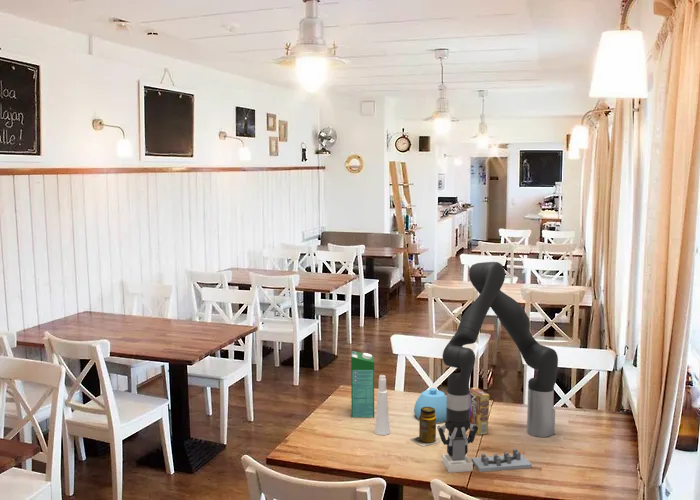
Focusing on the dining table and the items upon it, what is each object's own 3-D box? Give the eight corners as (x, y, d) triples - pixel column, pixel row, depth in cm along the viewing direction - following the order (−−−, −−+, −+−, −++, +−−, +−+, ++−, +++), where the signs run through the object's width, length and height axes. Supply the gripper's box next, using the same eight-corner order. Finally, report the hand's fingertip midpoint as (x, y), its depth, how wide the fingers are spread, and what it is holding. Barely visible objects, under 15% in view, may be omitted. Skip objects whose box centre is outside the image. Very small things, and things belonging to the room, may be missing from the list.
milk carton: (374, 417, 266) (374, 356, 263) (351, 417, 267) (351, 356, 263) (373, 409, 275) (373, 350, 272) (351, 409, 276) (351, 350, 272)
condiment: (440, 441, 244) (441, 409, 242) (422, 447, 239) (423, 414, 237) (427, 434, 250) (428, 403, 248) (410, 440, 245) (410, 408, 243)
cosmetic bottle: (374, 429, 255) (374, 373, 252) (390, 429, 255) (390, 373, 252) (374, 435, 249) (374, 378, 246) (390, 435, 249) (390, 378, 246)
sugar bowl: (425, 407, 278) (426, 380, 276) (458, 415, 269) (458, 387, 267) (407, 418, 266) (407, 390, 264) (440, 427, 257) (440, 398, 255)
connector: (461, 454, 225) (461, 432, 224) (464, 460, 221) (465, 437, 220) (449, 455, 225) (449, 433, 224) (453, 461, 221) (453, 438, 220)
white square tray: (464, 460, 228) (465, 453, 228) (472, 470, 220) (472, 463, 220) (442, 462, 227) (442, 454, 226) (449, 472, 219) (449, 465, 219)
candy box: (489, 433, 250) (489, 394, 248) (478, 435, 249) (479, 395, 247) (476, 425, 258) (477, 386, 256) (466, 426, 257) (467, 388, 255)
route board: (521, 457, 230) (522, 447, 229) (531, 467, 222) (531, 457, 222) (471, 461, 227) (471, 451, 227) (479, 471, 219) (479, 461, 219)
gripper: (474, 400, 225) (473, 448, 228) (434, 402, 223) (433, 451, 226) (482, 408, 218) (481, 458, 220) (440, 411, 216) (439, 461, 218)
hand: (457, 454), depth 223 cm, fingers closed on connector, 4 cm apart
